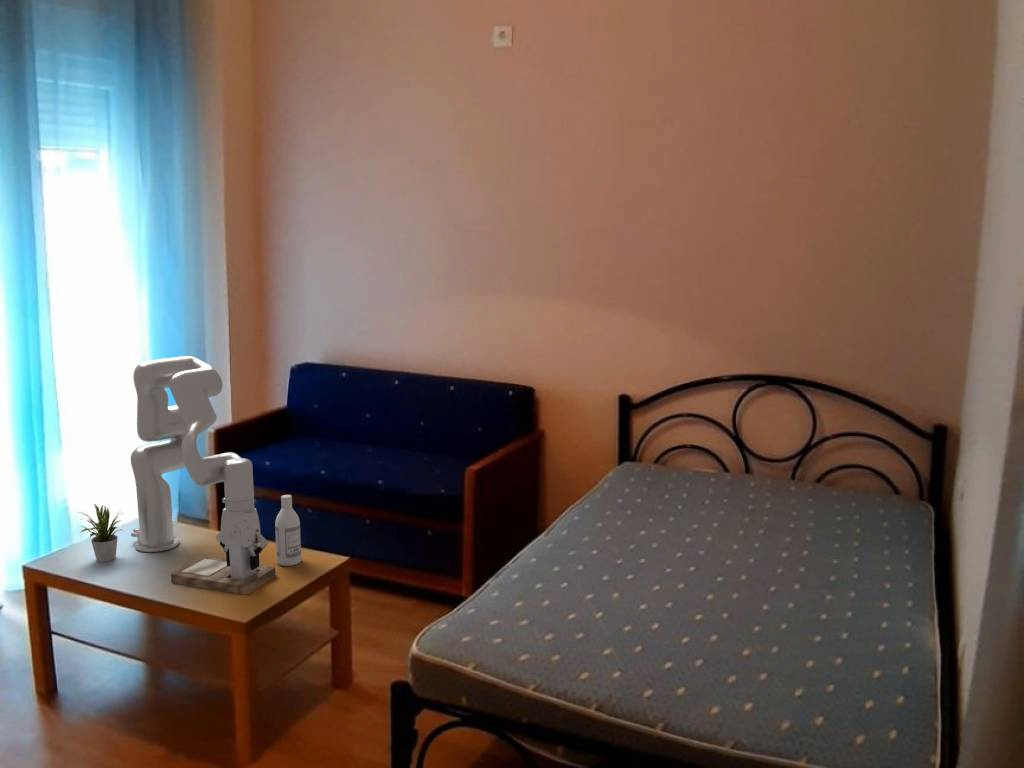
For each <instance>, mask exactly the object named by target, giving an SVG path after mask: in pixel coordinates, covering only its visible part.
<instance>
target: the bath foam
mask: <svg viewBox="0 0 1024 768" xmlns="http://www.w3.org/2000/svg"><path fill="white" fill-rule="evenodd" d="M292 496H293V495H291V494H284V495H281V496H280V500H281V501H280V502H281V504H280V505H281V508H280V511H279V512H278V513H277V515H276V518H275V522H274V523H275V525H274V529H275V548H276V549H275V550H276V551H275V552H276V563H277V565H279V566H284V567H292V566H296V565H298V564H300V563H301V561H302V544H301V543H302V541H301V540H302V539H301V521H300V517H299V515H298V514H297V512H296V511H295V510H294V508H293V497H292Z"/></svg>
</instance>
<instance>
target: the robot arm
mask: <svg viewBox="0 0 1024 768" xmlns="http://www.w3.org/2000/svg"><path fill="white" fill-rule="evenodd" d="M132 379H133V385H134V387H135V391H136V397H137V403H136V404H137V405H136V430H137V431H136V432H137V435H138V437H139V439H140V440H141V441H143V442H147V443H148V444H143V445H140V446H138V447H136V448H135V449H134V450H133V451H132V453H131V455H130V465H131V468H132V471H133V476H134V482H135V489H136V490H135V491H136V499H137V500H136V501H137V511H138V512H137V514H138V526H139V527H138V528H137V527H135V528H134V529H132V532H131V533H130V536H131V537H132V538H137V540H136V541H135V543H134V548H135V550H136V551H140V552H143V553H144V552H145V553H158V552H164V551H168V550H171V549H174V548H175V547H177V546H178V545H179V544H180V538H179V537H178V536H176V535H174V520H173V519H174V518H173V508H172V507H173V506H172V491H171V487H170V485H169V483H168V482H167V480H165V479H164V478H163V475H164V474H167V473H169V472H175V471H180V470H182V469H185V468H186V471H187V473H188V475H189V476H190V478H191V480H192V481H193V483H194V484H196V485H198V486H200V487H206V486H209V485H210V486H211V485H214V484H218V483H223V485H224V497H223V498H222V499H221V502H222V503H223V504H225V505H224V506H225V507H224V508H223V509H222V514H221V518H220V519H221V520H220V532H219V533H218V534H216V536H215V539H216V540H217V542H218V543H219V545H220V546H221V547H222V548H223V549H222V550H223V552H224V553H225V556H226V557H225V558H226V559H225V560H226V561H227V566H230V556H229V544H234V545H241V547H243V548H249V550H250V553H251V555H252V556H250V569H251V570H254V569H256V568H257V567H259V565H260V554H261V553H262V551H263V550H264V549H265V548H266V547H267V545H268V544H269V541H268V540H267V539H266V537H264V536H263V535H262V534H261V525H260V519H259V515H258V514H259V513H258V511H257V508H256V507H255V492H254V491H255V490H254V489H255V488H254V474H253V473H254V471H253V462H252V460H250V459H248V458H244V457H241V456H240V455H239V454H238V453H235V452H233V451H229V452H224V453H219V454H213V455H209V456H204V457H202V456H201V454H200V451H199V449H198V447H197V440H198V436H199V435H200V434H201V433H202V432H205V431H206V430H207V429H209V428H210V427H212V426H213V425H214V423H215V422H216V420H217V416H218V415H217V414H216V412H215V409H214V407H213V405H212V403H211V401H210V398H211V397H216V396H218V395H220V393H221V392H222V390H223V381H222V378H221V375H220V374H219V372H218V371H217V370H216V369H215V368H214V367H213V366H211V365H210V364H208V363H206V362H205V361H202V360H200V359H198V357H194V356H191V355H190V356H189V355H185V356H177V357H169V358H168V357H167V358H160V359H154V360H148V361H144V362H140V363H138V365H136V367H135V369H134V371H133V377H132ZM166 389H169V391H170V392H171V394H172V397H173V400H174V401H175V405H170V406H169V395H168V392H167V390H166ZM253 546H254V548H255V550H254V548H253Z"/></svg>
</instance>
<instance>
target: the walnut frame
mask: <svg viewBox="0 0 1024 768" xmlns="http://www.w3.org/2000/svg"><path fill="white" fill-rule="evenodd" d="M276 573H277V572H276V567H275V566H269V565H263V564H259V567H257V568H256V574H254V575H252V576H251V577H249V578H248V579H246V580H244V581H243V580H237V579H231V571H230V566H227V561H226V559H224V558H218V557H217V558H216V557H210V556H205V555H203V556H202V557H200V558H198V559H196V560H194V561H192V562H190V563H188V564H187V565H184V566H183V567H181V568H179V569H177V570H176V571H173V572H172V573H171V574H170V581H171V582H172V583H171V582H170V583H171V584H176V583H179V584H178V585H182V584H184V585H183V586H188V585H190V587H194V586H196V587H195V588H200V587H201V588H202V589H206V588H207V590H208V589H209V590H212V589H213V591H219V592H226V593H231V594H237V595H244V596H246V595H248V594H250V593H251V592H253V591H254V590H256V589H257V588H259V587H260V586H262V585H264V584H265V583H266V581H267V582H268V581H270V580H271V579H273V578H274V577H276ZM269 579H270V580H269ZM201 588H200V589H201Z"/></svg>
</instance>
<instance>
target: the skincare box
mask: <svg viewBox="0 0 1024 768" xmlns="http://www.w3.org/2000/svg"><path fill="white" fill-rule="evenodd" d="M253 548H254V546H253ZM254 550H255V548H254ZM229 556H230V571H231V579H237V580H243V581H244V580H246V579H248V578H249V577H251V576H252V575H254V574H256V569H254V570H251V569H250V556H252V555H251V553H250V550H249V548H243V547H241V545H234V544H229Z"/></svg>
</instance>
